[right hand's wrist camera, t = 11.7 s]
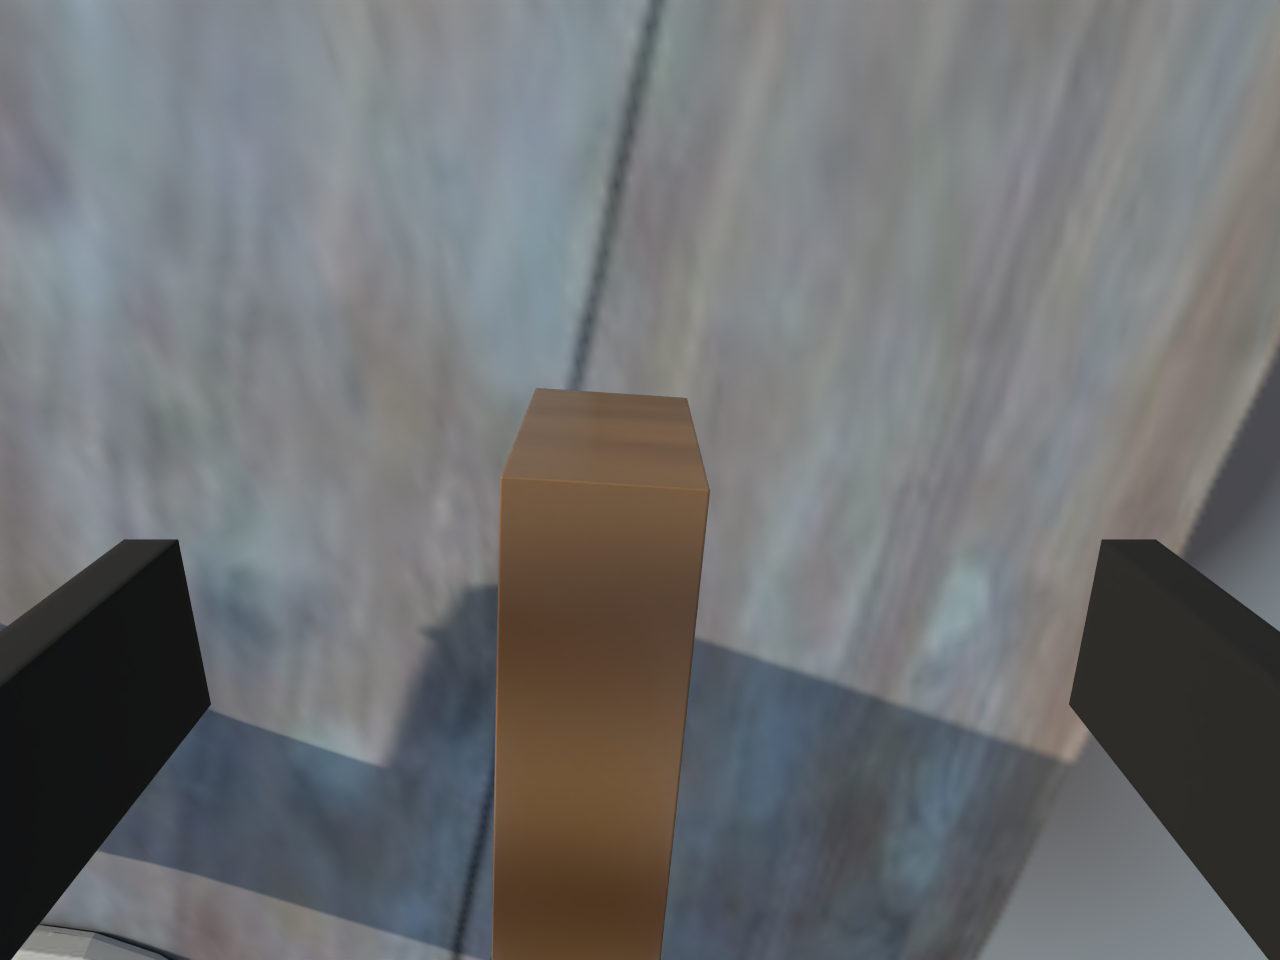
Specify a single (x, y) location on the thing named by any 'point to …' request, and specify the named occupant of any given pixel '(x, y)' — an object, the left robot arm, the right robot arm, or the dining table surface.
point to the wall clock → (78, 947)
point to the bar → (593, 671)
